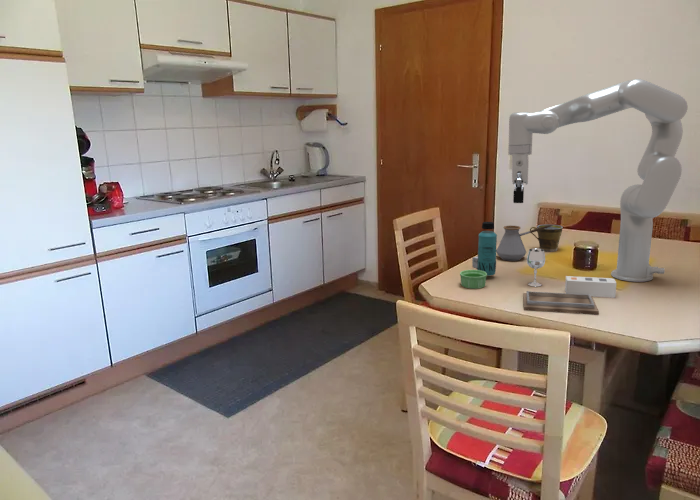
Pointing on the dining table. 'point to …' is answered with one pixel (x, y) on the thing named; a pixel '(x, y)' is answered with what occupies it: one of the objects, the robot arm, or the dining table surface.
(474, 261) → the usb wall charger
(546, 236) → the ceramic cup
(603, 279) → the power strip
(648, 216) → the robot arm
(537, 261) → the wineglass
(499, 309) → the dining table surface
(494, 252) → the beverage bottle
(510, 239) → the coffee pot
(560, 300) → the board
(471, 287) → the ramekin
